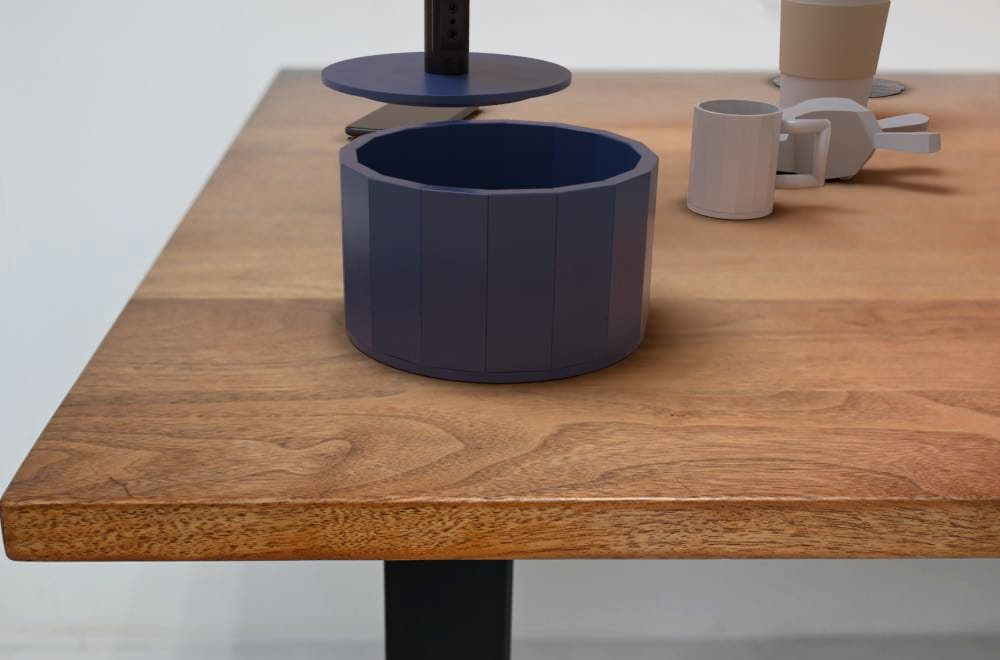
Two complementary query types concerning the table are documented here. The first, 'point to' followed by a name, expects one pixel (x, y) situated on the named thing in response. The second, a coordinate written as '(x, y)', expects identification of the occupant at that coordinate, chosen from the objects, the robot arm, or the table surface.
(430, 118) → the smartphone
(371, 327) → the pot
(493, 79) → the lid
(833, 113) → the bunny figurine
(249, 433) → the table surface
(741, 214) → the mug
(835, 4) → the coffee cup
